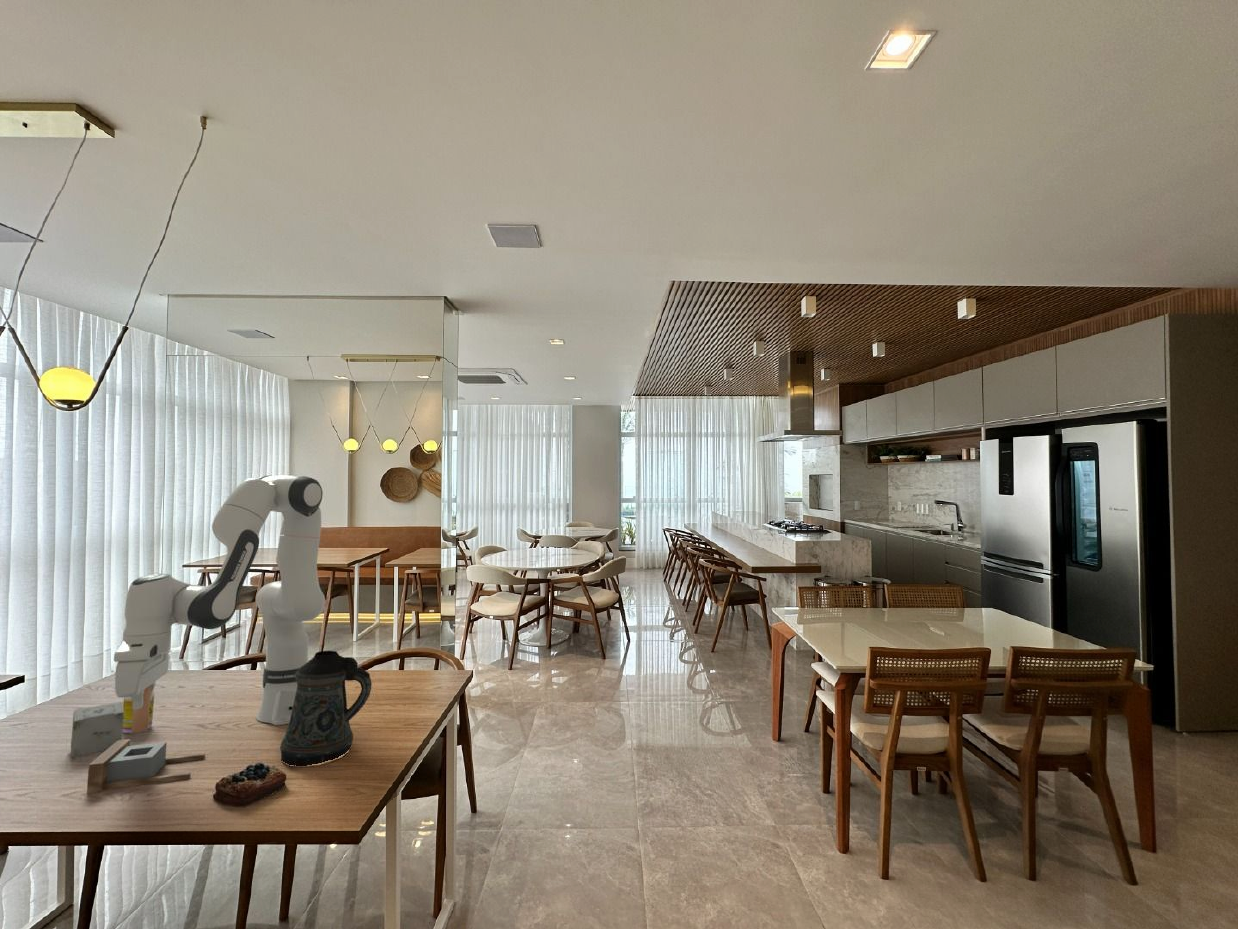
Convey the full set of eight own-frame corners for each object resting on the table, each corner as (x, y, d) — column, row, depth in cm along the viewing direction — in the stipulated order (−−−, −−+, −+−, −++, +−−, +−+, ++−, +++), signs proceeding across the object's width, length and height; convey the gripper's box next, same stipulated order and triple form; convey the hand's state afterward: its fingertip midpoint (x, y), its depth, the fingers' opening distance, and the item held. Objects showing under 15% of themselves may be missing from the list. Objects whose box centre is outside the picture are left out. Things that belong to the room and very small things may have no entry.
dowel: (150, 727, 138) (154, 675, 139) (145, 731, 135) (149, 678, 136) (134, 728, 137) (138, 676, 138) (129, 733, 134) (133, 679, 135)
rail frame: (206, 755, 146) (207, 731, 146) (187, 780, 133) (189, 753, 133) (115, 766, 140) (117, 740, 140) (86, 793, 127) (88, 764, 127)
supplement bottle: (134, 735, 158) (137, 686, 159) (114, 733, 160) (118, 684, 160) (158, 726, 165) (161, 679, 166) (139, 724, 166) (142, 677, 167)
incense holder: (69, 761, 142) (72, 717, 143) (70, 750, 148) (73, 708, 149) (122, 750, 149) (125, 708, 150) (121, 740, 155) (123, 699, 156)
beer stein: (273, 751, 149) (278, 651, 151) (354, 733, 161) (358, 640, 163) (287, 774, 136) (292, 665, 138) (373, 753, 149) (377, 652, 151)
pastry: (205, 802, 124) (206, 773, 125) (257, 777, 135) (258, 751, 136) (242, 812, 120) (243, 782, 121) (292, 786, 132) (294, 759, 132)
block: (165, 763, 141) (166, 742, 141) (150, 780, 133) (152, 757, 133) (124, 768, 138) (125, 746, 138) (106, 785, 130) (108, 762, 130)
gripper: (147, 636, 146) (143, 693, 145) (110, 656, 127) (105, 721, 126) (178, 634, 148) (174, 690, 147) (145, 654, 129) (141, 718, 128)
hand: (142, 705), depth 136 cm, fingers closed on dowel, 3 cm apart
